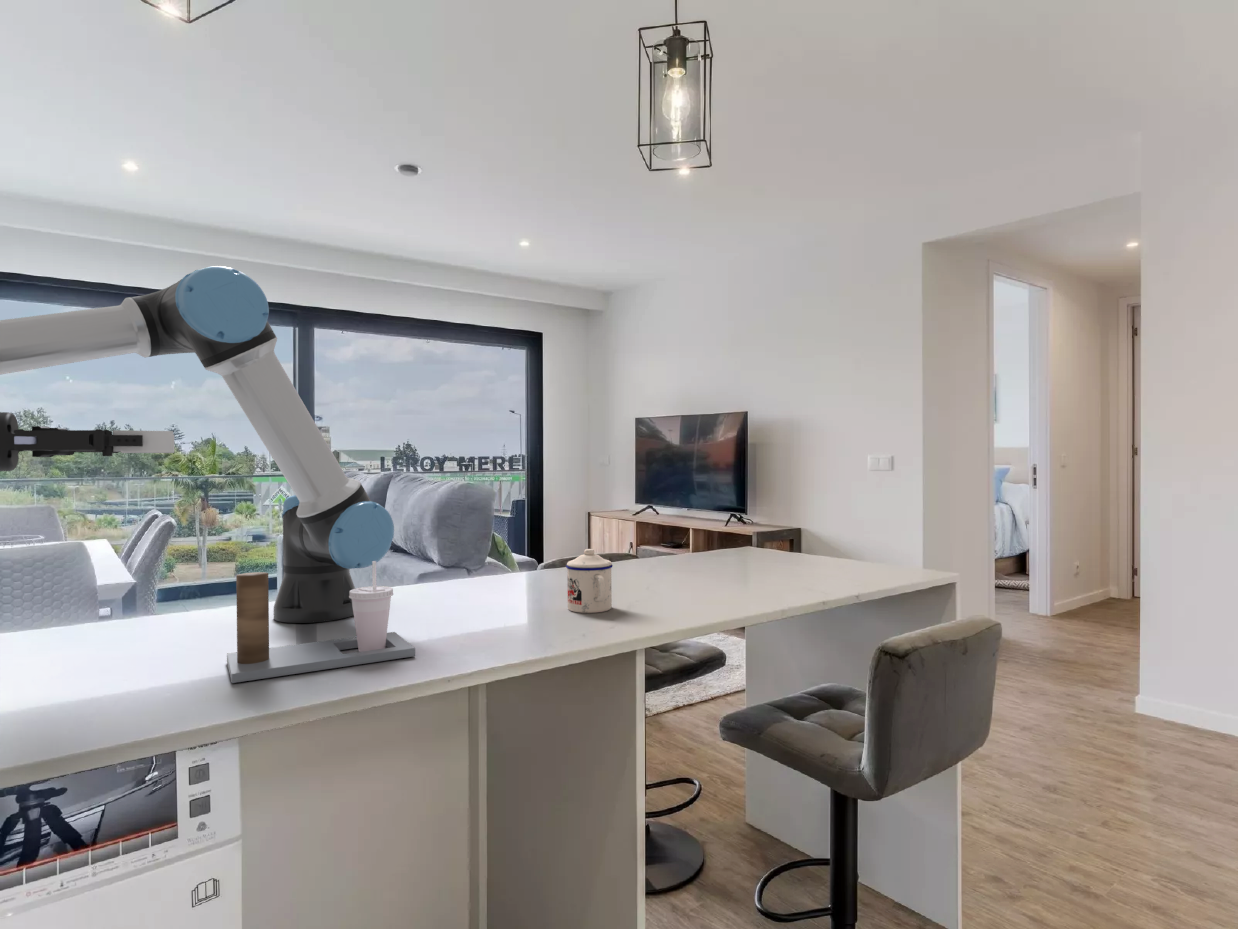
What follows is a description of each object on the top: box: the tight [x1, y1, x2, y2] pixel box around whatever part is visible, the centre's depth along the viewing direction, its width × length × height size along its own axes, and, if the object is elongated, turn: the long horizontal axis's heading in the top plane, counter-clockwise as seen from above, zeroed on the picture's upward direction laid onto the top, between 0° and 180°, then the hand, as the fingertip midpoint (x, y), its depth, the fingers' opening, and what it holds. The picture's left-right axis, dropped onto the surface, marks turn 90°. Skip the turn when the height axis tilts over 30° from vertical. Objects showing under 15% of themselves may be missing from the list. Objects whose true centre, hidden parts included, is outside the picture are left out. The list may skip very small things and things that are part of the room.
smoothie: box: [349, 561, 394, 652], centre depth 109 cm, size 6×6×14 cm
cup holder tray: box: [226, 571, 416, 684], centre depth 105 cm, size 12×24×13 cm, turn 121°
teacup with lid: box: [565, 548, 613, 614], centre depth 139 cm, size 12×9×12 cm
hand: (174, 442), depth 101 cm, fingers open, 13 cm apart
